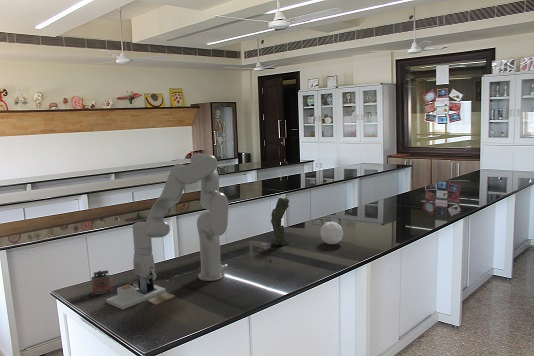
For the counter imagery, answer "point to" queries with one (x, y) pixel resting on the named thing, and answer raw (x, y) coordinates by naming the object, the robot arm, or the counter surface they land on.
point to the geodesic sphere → (331, 232)
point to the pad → (160, 298)
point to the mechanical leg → (279, 222)
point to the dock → (132, 296)
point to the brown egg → (125, 287)
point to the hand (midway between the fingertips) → (146, 289)
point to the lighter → (101, 282)
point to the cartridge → (143, 285)
